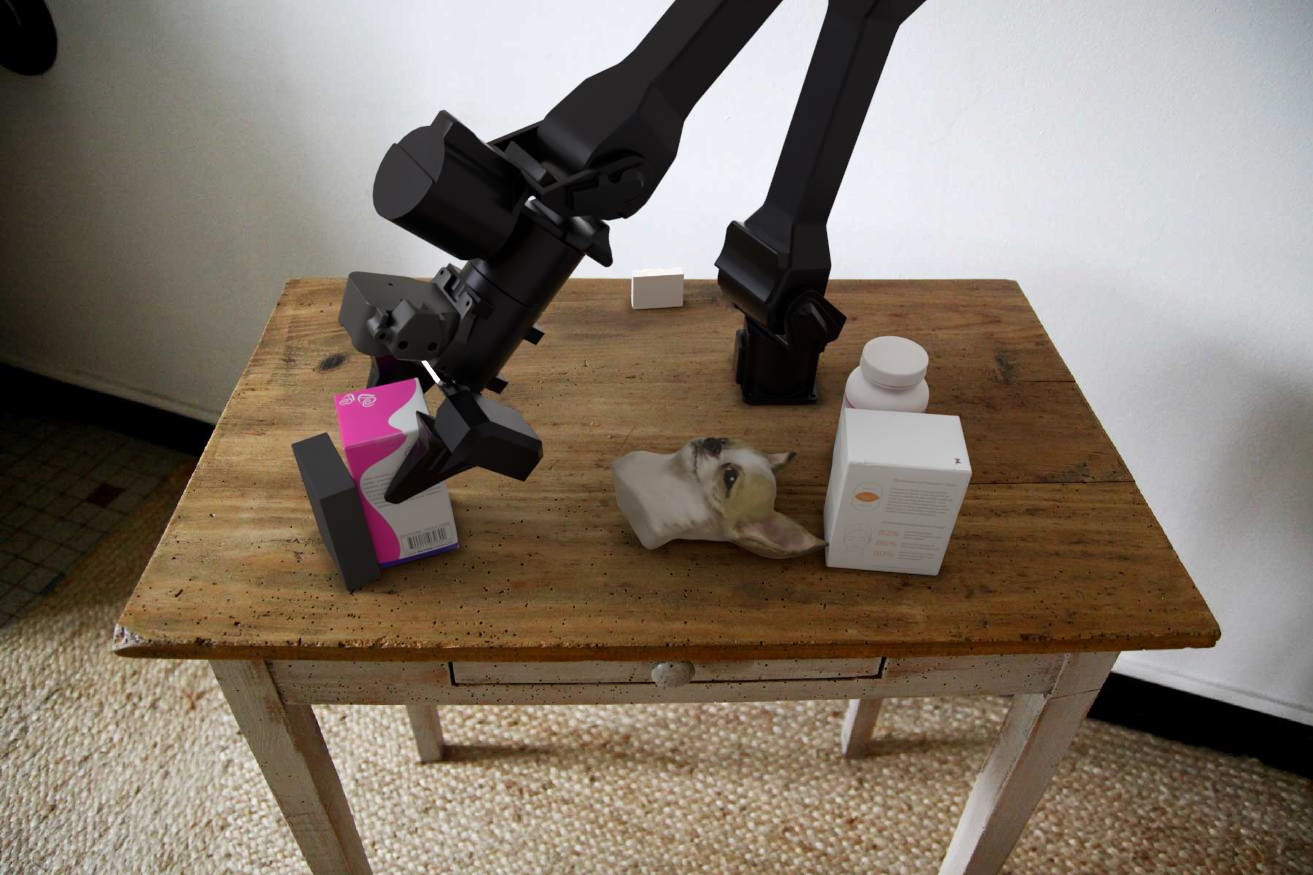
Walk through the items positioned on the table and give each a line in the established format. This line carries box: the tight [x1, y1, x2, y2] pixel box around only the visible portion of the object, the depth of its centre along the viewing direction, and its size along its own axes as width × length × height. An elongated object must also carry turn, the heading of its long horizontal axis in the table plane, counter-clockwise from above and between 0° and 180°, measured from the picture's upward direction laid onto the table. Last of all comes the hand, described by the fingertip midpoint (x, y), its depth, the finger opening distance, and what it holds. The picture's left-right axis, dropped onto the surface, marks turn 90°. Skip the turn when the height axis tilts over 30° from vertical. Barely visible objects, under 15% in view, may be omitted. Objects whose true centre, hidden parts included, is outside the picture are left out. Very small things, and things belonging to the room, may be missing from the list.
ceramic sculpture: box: [610, 436, 829, 560], centre depth 66 cm, size 11×9×15 cm
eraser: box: [631, 266, 685, 310], centre depth 89 cm, size 1×5×4 cm, turn 98°
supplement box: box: [333, 378, 460, 569], centre depth 63 cm, size 6×6×12 cm
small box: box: [823, 408, 973, 576], centre depth 64 cm, size 8×6×10 cm
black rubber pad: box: [290, 431, 382, 592], centre depth 62 cm, size 2×6×9 cm, turn 32°
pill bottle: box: [832, 335, 930, 460], centre depth 70 cm, size 6×6×11 cm
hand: (373, 471), depth 62 cm, fingers closed on supplement box, 6 cm apart
